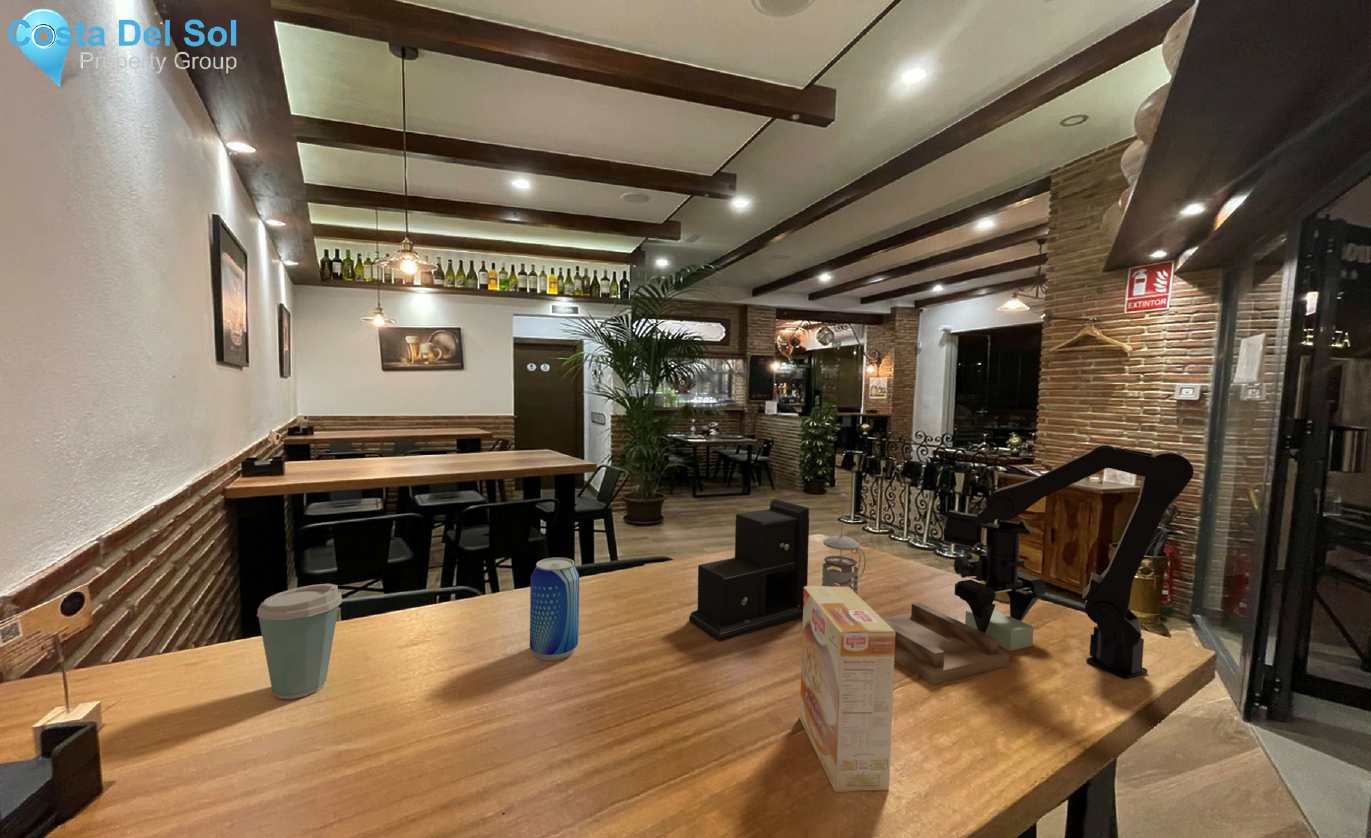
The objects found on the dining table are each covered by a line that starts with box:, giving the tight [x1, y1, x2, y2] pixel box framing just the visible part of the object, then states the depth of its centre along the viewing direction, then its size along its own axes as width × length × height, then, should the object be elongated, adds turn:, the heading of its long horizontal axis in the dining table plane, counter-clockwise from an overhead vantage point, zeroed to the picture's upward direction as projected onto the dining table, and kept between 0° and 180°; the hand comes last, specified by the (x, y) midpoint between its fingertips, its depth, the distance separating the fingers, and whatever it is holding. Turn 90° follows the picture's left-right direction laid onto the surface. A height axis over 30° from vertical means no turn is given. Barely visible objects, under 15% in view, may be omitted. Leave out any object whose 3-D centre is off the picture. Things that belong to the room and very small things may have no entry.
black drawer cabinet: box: [688, 498, 810, 642], centre depth 111 cm, size 23×11×24 cm, turn 122°
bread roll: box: [978, 581, 1010, 603], centre depth 129 cm, size 8×9×4 cm
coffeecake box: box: [798, 585, 896, 793], centre depth 70 cm, size 15×7×20 cm, turn 4°
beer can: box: [529, 557, 580, 662], centre depth 95 cm, size 8×8×16 cm
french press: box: [821, 493, 867, 595], centre depth 122 cm, size 10×12×25 cm
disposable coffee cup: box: [256, 583, 343, 700], centre depth 82 cm, size 11×11×15 cm
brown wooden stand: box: [880, 602, 1010, 685], centre depth 100 cm, size 20×18×4 cm
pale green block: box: [964, 609, 1034, 651], centre depth 106 cm, size 10×6×4 cm, turn 21°
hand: (998, 630), depth 106 cm, fingers open, 9 cm apart
